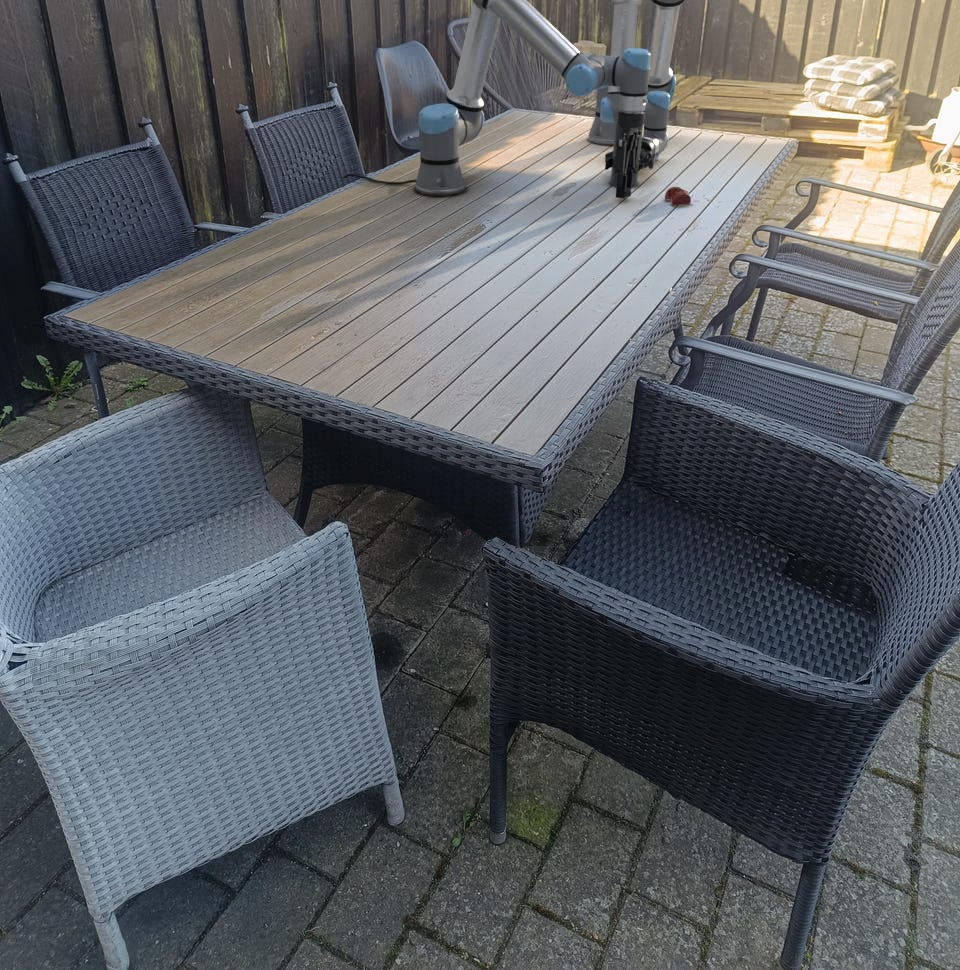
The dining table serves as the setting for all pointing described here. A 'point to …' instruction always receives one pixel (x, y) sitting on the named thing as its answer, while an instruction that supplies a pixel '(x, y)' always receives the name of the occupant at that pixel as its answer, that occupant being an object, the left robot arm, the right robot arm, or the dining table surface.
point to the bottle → (617, 136)
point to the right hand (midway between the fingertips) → (620, 167)
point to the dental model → (677, 196)
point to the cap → (628, 192)
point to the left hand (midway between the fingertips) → (623, 195)
